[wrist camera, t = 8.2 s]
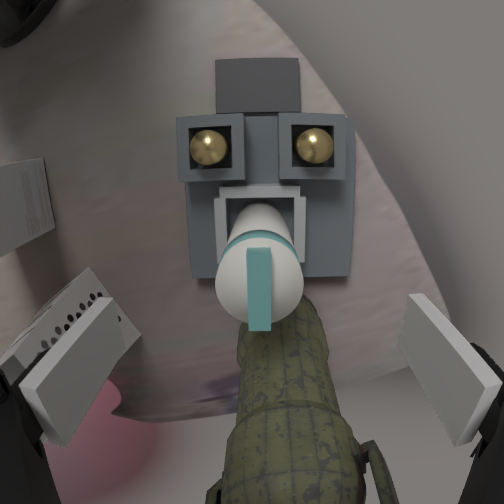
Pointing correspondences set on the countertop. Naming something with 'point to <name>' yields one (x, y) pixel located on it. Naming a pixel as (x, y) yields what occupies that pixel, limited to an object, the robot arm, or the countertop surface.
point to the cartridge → (259, 268)
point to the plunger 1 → (209, 147)
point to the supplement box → (23, 203)
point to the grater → (59, 325)
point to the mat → (257, 85)
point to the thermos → (293, 424)
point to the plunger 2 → (313, 145)
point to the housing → (271, 187)
